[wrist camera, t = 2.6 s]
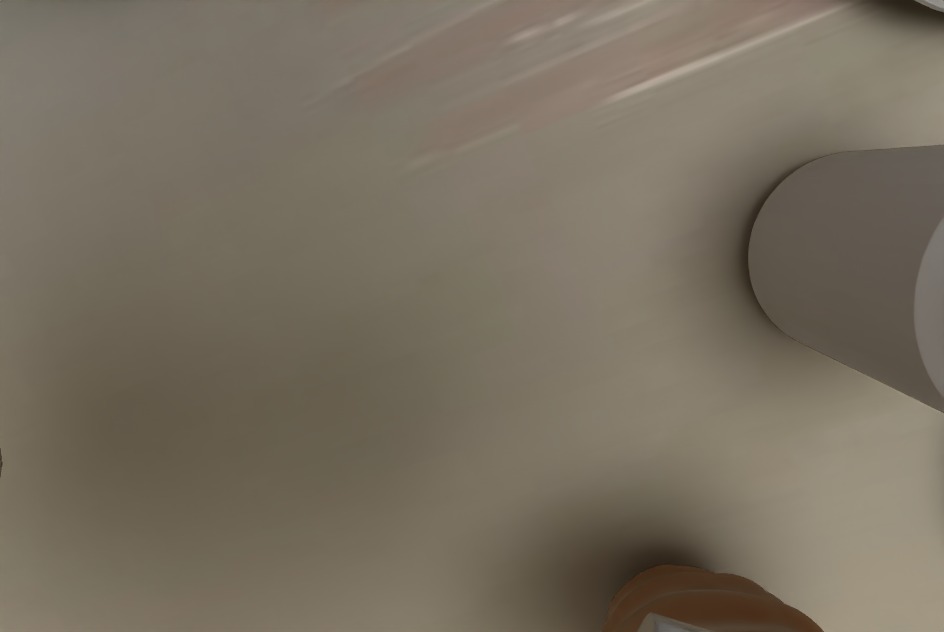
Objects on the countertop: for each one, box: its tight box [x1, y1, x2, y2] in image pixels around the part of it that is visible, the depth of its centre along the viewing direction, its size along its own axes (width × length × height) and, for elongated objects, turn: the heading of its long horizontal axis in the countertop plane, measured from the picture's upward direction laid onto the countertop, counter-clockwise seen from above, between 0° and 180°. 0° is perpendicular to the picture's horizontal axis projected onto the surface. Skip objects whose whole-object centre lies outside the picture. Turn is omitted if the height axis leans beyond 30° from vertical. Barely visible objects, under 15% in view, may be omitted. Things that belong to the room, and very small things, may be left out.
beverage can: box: [748, 145, 944, 413], centre depth 21 cm, size 6×6×12 cm
